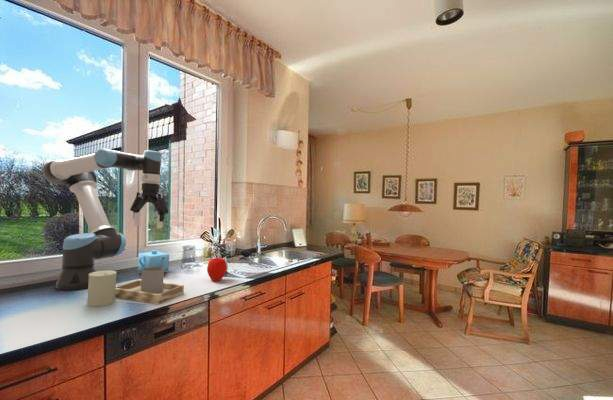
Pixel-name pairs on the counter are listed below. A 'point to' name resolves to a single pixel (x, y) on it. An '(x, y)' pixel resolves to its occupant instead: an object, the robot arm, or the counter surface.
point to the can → (101, 288)
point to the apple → (216, 268)
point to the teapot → (153, 260)
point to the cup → (152, 280)
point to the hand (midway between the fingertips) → (147, 227)
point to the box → (134, 292)
